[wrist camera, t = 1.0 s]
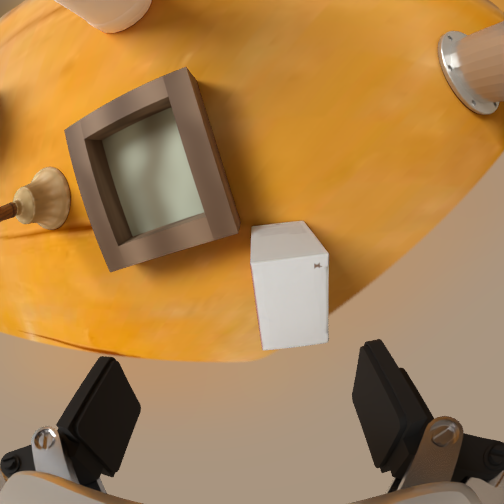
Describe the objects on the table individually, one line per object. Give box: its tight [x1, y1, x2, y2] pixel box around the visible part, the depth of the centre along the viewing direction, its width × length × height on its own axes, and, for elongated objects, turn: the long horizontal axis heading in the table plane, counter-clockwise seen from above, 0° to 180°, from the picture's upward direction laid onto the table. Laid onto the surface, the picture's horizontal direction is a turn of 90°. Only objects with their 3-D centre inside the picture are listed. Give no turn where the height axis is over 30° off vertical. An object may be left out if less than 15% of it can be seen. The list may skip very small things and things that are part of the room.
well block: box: [64, 67, 241, 272], centre depth 24 cm, size 14×16×4 cm
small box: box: [250, 221, 329, 350], centre depth 25 cm, size 8×6×10 cm
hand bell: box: [0, 167, 71, 230], centre depth 20 cm, size 8×8×16 cm
